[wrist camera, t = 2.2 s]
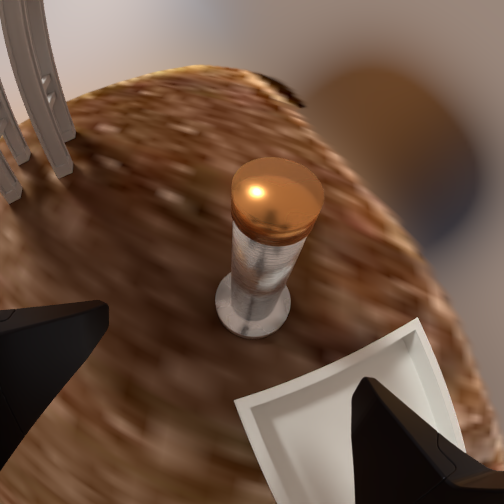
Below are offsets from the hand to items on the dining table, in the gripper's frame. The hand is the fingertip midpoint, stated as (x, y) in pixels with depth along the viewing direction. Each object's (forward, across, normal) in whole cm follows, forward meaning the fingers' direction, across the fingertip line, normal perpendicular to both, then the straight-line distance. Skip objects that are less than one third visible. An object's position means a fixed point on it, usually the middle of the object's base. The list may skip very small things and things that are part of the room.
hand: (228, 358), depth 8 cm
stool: (+21, +35, -3) cm, 41 cm away
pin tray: (+6, -12, +11) cm, 18 cm away
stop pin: (+14, 0, +4) cm, 14 cm away
